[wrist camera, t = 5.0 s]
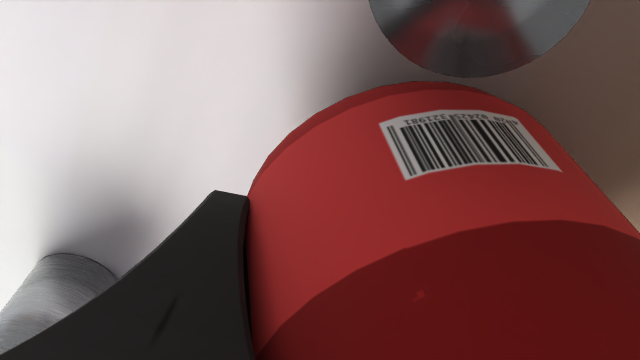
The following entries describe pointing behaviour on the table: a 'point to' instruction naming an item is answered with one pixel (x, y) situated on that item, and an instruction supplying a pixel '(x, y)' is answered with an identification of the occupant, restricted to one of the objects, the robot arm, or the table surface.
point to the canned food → (435, 238)
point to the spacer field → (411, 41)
